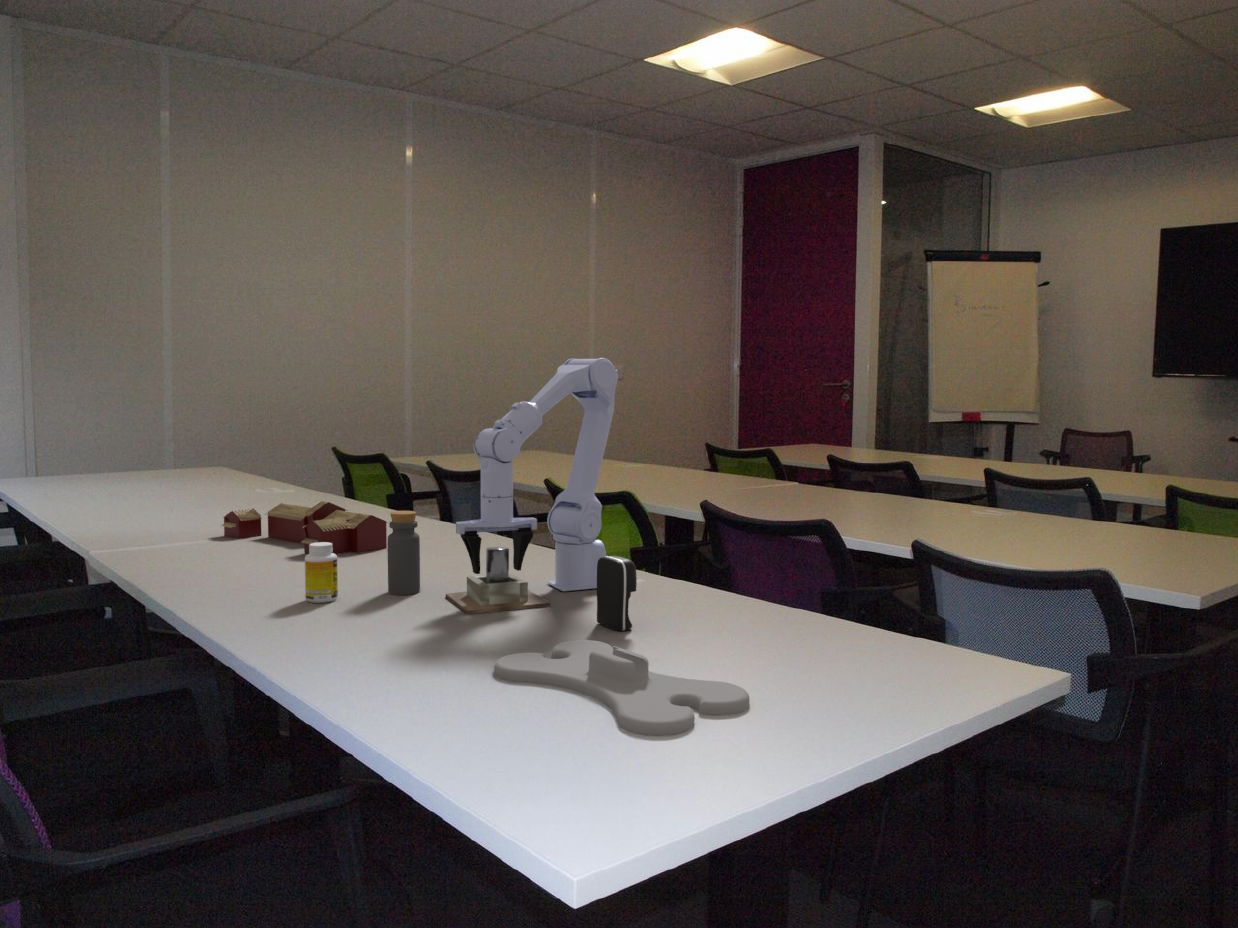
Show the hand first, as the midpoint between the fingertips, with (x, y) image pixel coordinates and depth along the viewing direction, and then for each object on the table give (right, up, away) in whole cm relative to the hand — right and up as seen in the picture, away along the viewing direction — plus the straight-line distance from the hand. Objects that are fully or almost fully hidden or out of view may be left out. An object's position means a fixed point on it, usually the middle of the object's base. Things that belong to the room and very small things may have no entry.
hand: (497, 571), depth 169 cm
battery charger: (+22, -7, -16) cm, 28 cm away
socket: (0, -6, 0) cm, 6 cm away
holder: (+21, -11, -46) cm, 51 cm away
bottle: (-18, -5, +7) cm, 20 cm away
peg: (0, -5, 0) cm, 5 cm away
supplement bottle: (-31, -5, 0) cm, 32 cm away
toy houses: (-55, 0, +59) cm, 81 cm away
